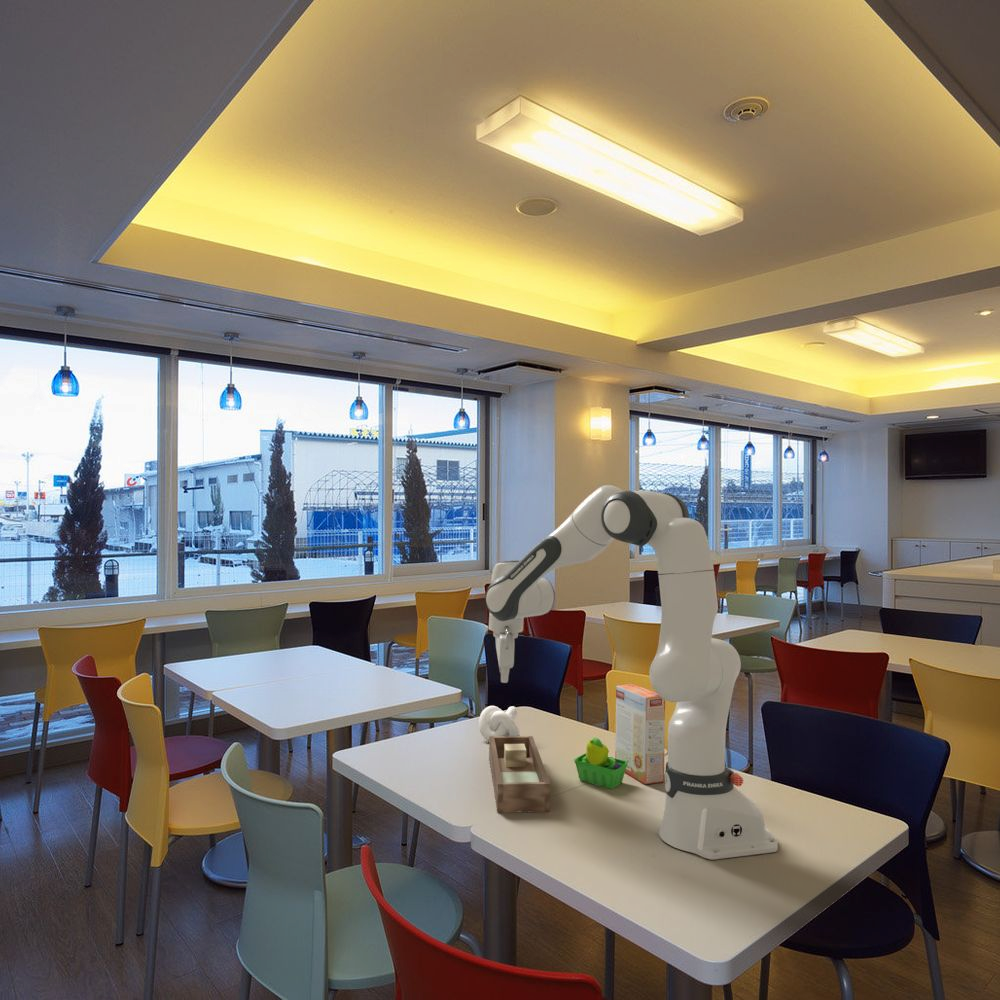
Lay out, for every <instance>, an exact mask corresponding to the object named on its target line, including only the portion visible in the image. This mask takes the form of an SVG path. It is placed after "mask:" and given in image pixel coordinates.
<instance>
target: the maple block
mask: <svg viewBox="0 0 1000 1000" xmlns="http://www.w3.org/2000/svg"><path fill="white" fill-rule="evenodd" d="M504 762H505V767H526V748H525V744H504Z"/></svg>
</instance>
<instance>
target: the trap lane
mask: <svg viewBox="0 0 1000 1000" xmlns="http://www.w3.org/2000/svg"><path fill="white" fill-rule="evenodd" d="M488 742H489V743H488V744H489V747H488V753H489V754H488V762H489V761H490V762H489V768H491V769H490V772H491V773H490V775H491V774H492V775H491V779H492V780H491V781H492V787H494V788H493V792H494V799H495V800H496V801H495V806H496V813H497V812H501V813H519V812H518V811H521V812H520V813H529V812H528V811H531V812H530V813H550V812H551V782H550V779H549V777H548V773H547V771H546V768H545V765H544V762H543V760H542V758H541V755H540V752H539V749H538V747H537V743H536V741H535V739H534V736H533V735H527V736H526V735H524V736H523V735H521V736H506V735H505V736H494V737H489V741H488ZM504 744H525V748H526V767H505V762H504ZM532 811H533V812H532Z"/></svg>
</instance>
